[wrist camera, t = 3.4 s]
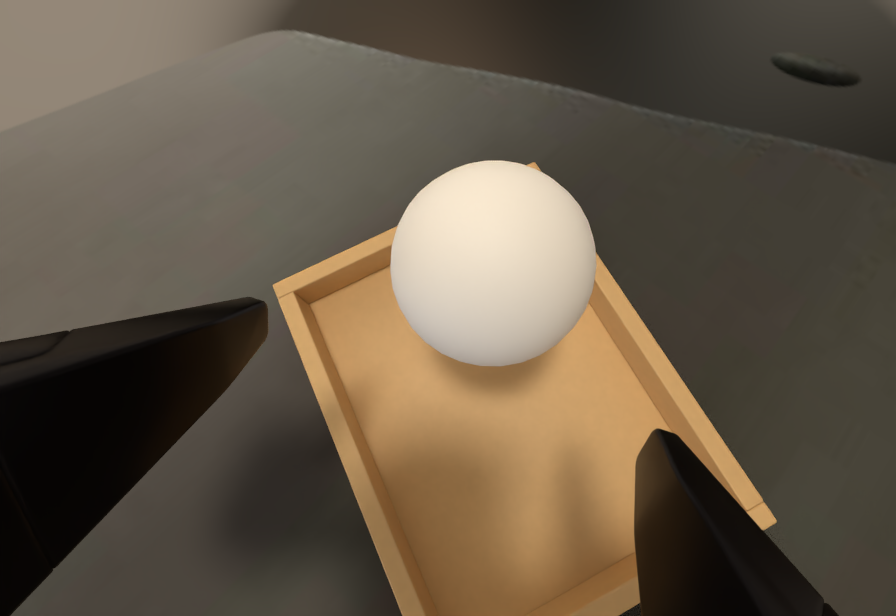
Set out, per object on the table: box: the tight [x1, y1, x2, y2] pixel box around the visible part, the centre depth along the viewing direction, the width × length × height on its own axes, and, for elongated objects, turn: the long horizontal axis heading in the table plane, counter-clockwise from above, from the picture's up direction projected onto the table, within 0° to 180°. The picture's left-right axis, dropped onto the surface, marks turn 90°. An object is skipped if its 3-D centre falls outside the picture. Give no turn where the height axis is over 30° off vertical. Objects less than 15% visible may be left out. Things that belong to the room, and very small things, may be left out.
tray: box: [273, 162, 777, 616], centre depth 19 cm, size 18×14×2 cm
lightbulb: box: [390, 161, 597, 366], centre depth 15 cm, size 6×6×11 cm
